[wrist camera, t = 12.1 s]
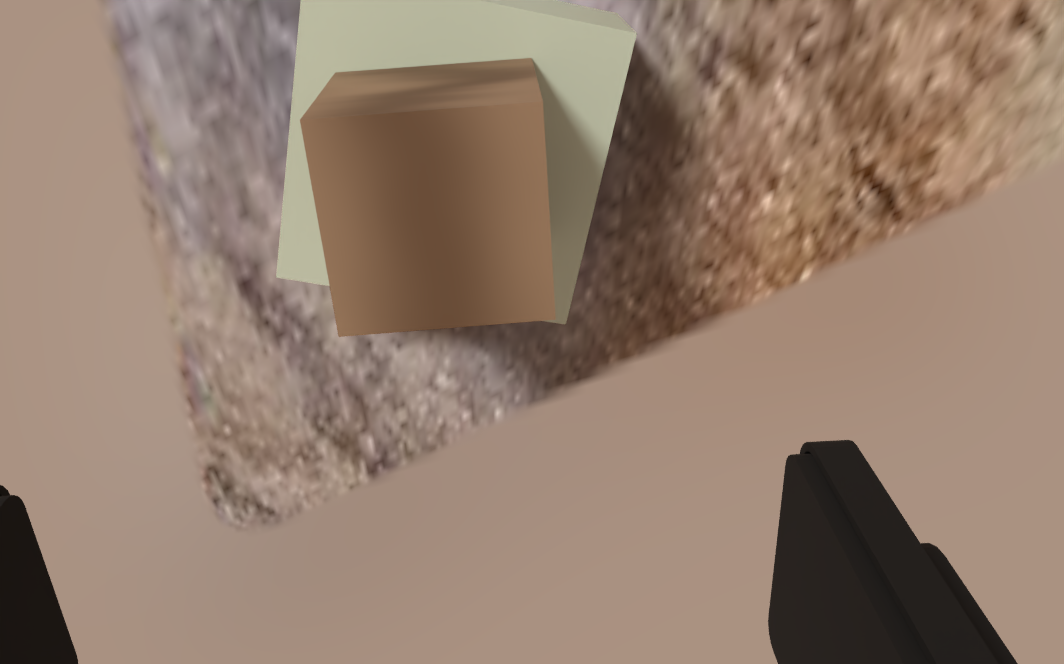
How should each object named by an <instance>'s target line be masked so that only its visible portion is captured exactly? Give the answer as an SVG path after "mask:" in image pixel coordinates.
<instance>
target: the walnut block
mask: <svg viewBox="0 0 1064 664" xmlns="http://www.w3.org/2000/svg"><path fill="white" fill-rule="evenodd" d="M300 124H301V129H302V135H303V141H304V146H305V152H306V157H307V163H308V168H309V174H310V180H311V185H312V191H313V196H314V202H315V207H316V213H317V219H318V224H319V230H320V235H321V241H322V246H323V252H324V257H325V263H326V269H327V274H328V280H329V285H330V291H331V296H332V302H333V308H334V313H335V319H336V324H337V330H338V335H339V337H341V336H354V335H367V334H380V333H392V332H405V331H418V330H430V329H443V328H456V327H469V326H481V325H494V324H507V323H520V322H532V321H545V320H556V315H555V298H554V281H553V264H552V247H551V230H550V213H549V195H548V178H547V161H546V144H545V127H544V110H543V100H542V96H541V92H540V88H539V84H538V80H537V76H536V73H535V69H534V65H533V61H532V58H523V59H509V60H496V61H483V62H469V63H456V64H442V65H429V66H416V67H402V68H389V69H376V70H362V71H349V72H335V74H334V75H333V76H332V78H331V79H330V80H329V82H328V83H327V84H326V86H325V87H324V88H323V90H322V91H321V92H320V94H319V95H318V96H317V98H316V99H315V100H314V102H313V103H312V104H311V106H310V107H309V108H308V110H307V111H306V112H305V114H304V115H303V116H302V118H301V119H300Z"/></svg>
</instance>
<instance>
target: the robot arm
mask: <svg viewBox="0 0 1064 664" xmlns="http://www.w3.org/2000/svg"><path fill="white" fill-rule="evenodd" d="M768 625H769V635H770V640H771V644H772V648H773V651H774V654H775V656H776V659H777V662H778V664H1017V662H1016V661H1015V659H1014V658H1013V656H1012V655H1011V653H1010V652H1009V650H1008V649H1007V647H1006V646H1005V644H1004V643H1003V641H1002V640H1001V638H1000V637H999V635H998V634H997V632H996V631H995V630H994V628H993V627H992V625H991V624H990V622H989V621H988V619H987V618H986V616H985V615H984V613H983V612H982V610H981V609H980V607H979V606H978V604H977V603H976V601H975V600H974V598H973V597H972V595H971V594H970V592H969V591H968V589H967V588H966V586H965V585H964V584H963V582H962V580H961V579H960V578H959V576H958V575H957V573H956V572H955V570H954V569H953V567H952V566H951V564H950V563H949V561H948V560H947V558H946V557H945V556H944V554H943V553H942V552H941V551H940V550H939V549H938V547H936V546H934V545H932V544H930V543H921V544H920V542H919V541H918V539H917V537H916V536H915V534H914V533H913V532H912V530H911V529H910V527H909V525H908V524H907V522H906V521H905V519H904V518H903V516H902V514H901V513H900V511H899V510H898V508H897V507H896V505H895V504H894V502H893V501H892V499H891V498H890V496H889V494H888V493H887V491H886V490H885V488H884V487H883V485H882V484H881V482H880V481H879V479H878V477H877V476H876V475H875V473H874V471H873V470H872V468H871V467H870V465H869V464H868V462H867V461H866V459H865V458H864V456H863V454H862V453H861V451H860V450H859V448H858V447H857V445H856V444H855V443H854V442H853V441H850V440H841V441H820V442H806V443H804V444H803V446H802V448H801V450H800V454H796V455H790V456H788V458H787V460H786V466H785V474H784V483H783V492H782V501H781V510H780V519H779V528H778V537H777V546H776V555H775V564H774V573H773V581H772V590H771V600H770V608H769V620H768ZM0 664H78V659H77V655H76V652H75V649H74V646H73V644H72V640H71V637H70V634H69V632H68V629H67V626H66V623H65V620H64V617H63V614H62V611H61V609H60V606H59V603H58V600H57V597H56V594H55V591H54V588H53V585H52V583H51V580H50V577H49V574H48V571H47V568H46V565H45V562H44V560H43V557H42V554H41V551H40V548H39V545H38V542H37V540H36V537H35V534H34V531H33V528H32V525H31V522H30V519H29V516H28V514H27V511H26V508H25V505H24V503H23V501H22V500H21V499H20V498H19V497H18V496H15V495H10V494H9V492H8V490H7V489H6V488H4V487H3V486H1V485H0Z"/></svg>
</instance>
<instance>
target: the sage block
mask: <svg viewBox="0 0 1064 664" xmlns="http://www.w3.org/2000/svg"><path fill="white" fill-rule="evenodd" d="M636 35H637V33H636V32H635V31H634V30H633V29H632V28H631V27H630V26H629V25H628V24H627V23H626V22H625V21H624V20H623V19H622V18H621V17H620V16H619V15H618V14H617V13H613V12H609V11H604V10H599V9H594V8H590V7H585V6H580V5H575V4H571V3H566V2H561V1H557V0H301V5H300V16H299V27H298V38H297V49H296V61H295V72H294V83H293V94H292V106H291V117H290V128H289V139H288V150H287V162H286V173H285V184H284V195H283V207H282V218H281V229H280V240H279V251H278V263H277V274H276V277H277V278H283V279H290V280H296V281H302V282H308V283H314V284H320V285H326V286H330V285H329V280H328V274H327V269H326V263H325V257H324V252H323V246H322V241H321V235H320V230H319V224H318V219H317V213H316V207H315V202H314V196H313V191H312V185H311V180H310V174H309V168H308V163H307V157H306V152H305V146H304V141H303V135H302V129H301V124H300V119H301V118H302V116H303V115H304V114H305V112H306V111H307V110H308V108H309V107H310V106H311V104H312V103H313V102H314V100H315V99H316V98H317V96H318V95H319V94H320V92H321V91H322V90H323V88H324V87H325V86H326V84H327V83H328V82H329V80H330V79H331V78H332V76H333V75H334V74H335V72H349V71H362V70H376V69H389V68H402V67H416V66H429V65H442V64H456V63H469V62H483V61H496V60H509V59H523V58H532V61H533V65H534V69H535V73H536V76H537V80H538V84H539V88H540V92H541V96H542V100H543V110H544V127H545V144H546V161H547V178H548V195H549V213H550V230H551V247H552V264H553V281H554V298H555V315H556V320H545V321H546V322H552V323H559V324H565V325H566V322H567V318H568V314H569V310H570V306H571V302H572V297H573V293H574V289H575V285H576V281H577V277H578V273H579V269H580V265H581V261H582V256H583V252H584V248H585V244H586V240H587V236H588V232H589V228H590V224H591V220H592V215H593V211H594V207H595V203H596V199H597V195H598V191H599V187H600V183H601V179H602V175H603V170H604V166H605V162H606V158H607V154H608V150H609V146H610V142H611V138H612V134H613V129H614V125H615V121H616V117H617V113H618V109H619V105H620V101H621V97H622V93H623V88H624V84H625V80H626V76H627V72H628V68H629V64H630V60H631V56H632V52H633V47H634V43H635V39H636Z"/></svg>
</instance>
